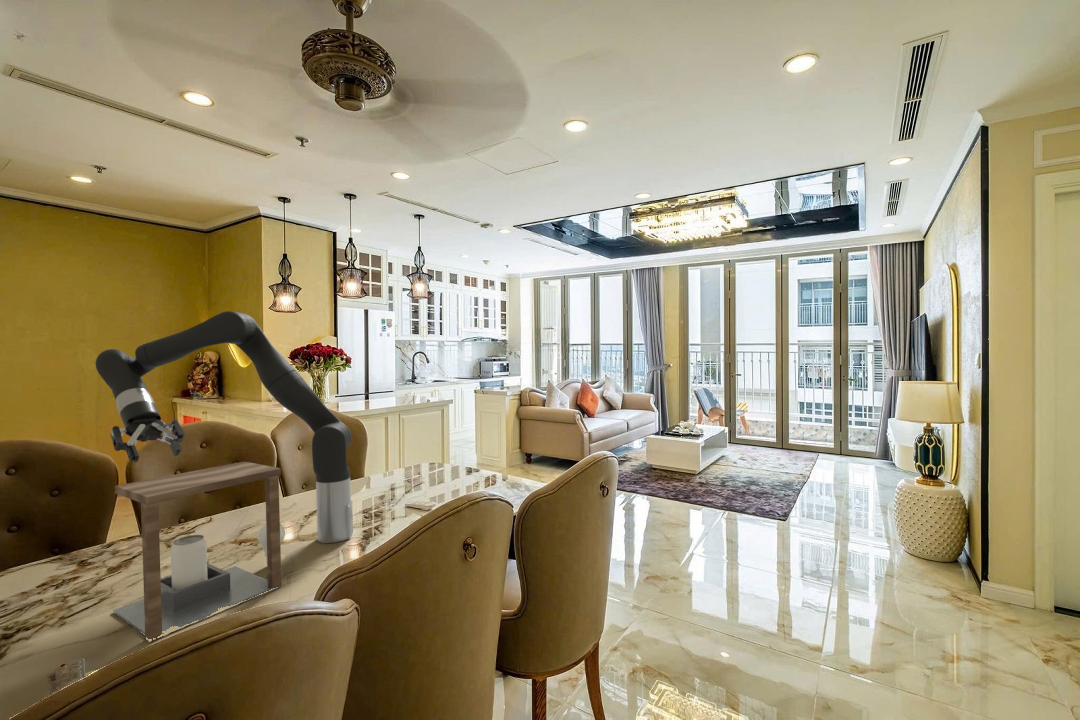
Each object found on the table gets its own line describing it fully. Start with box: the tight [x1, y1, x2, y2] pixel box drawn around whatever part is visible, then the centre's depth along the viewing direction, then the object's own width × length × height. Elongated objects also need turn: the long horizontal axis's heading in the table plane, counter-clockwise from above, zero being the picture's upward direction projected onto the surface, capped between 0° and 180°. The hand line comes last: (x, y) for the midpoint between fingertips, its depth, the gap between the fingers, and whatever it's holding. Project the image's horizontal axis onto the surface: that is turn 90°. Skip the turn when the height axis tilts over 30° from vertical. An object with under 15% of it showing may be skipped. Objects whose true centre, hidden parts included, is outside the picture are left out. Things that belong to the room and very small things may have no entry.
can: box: [170, 534, 208, 591], centre depth 108 cm, size 6×6×12 cm
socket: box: [112, 562, 279, 640], centre depth 106 cm, size 20×24×4 cm
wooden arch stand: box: [114, 461, 283, 643], centre depth 104 cm, size 16×25×28 cm, turn 148°
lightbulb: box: [257, 523, 286, 563], centre depth 122 cm, size 6×6×11 cm
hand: (157, 456), depth 121 cm, fingers open, 8 cm apart
